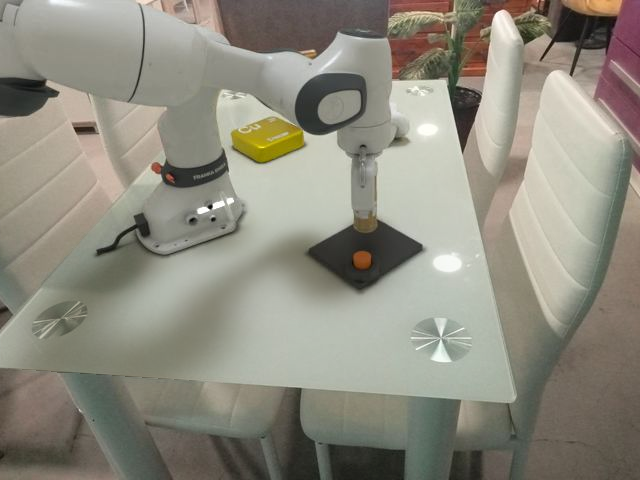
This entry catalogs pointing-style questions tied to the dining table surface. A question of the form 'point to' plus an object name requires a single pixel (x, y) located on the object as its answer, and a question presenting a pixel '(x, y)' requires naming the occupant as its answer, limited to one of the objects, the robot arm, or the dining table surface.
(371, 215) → the sprinkles bottle
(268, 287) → the dining table surface
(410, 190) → the dining table surface
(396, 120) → the white knot sculpture
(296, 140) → the element tile
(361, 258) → the button
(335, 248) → the scale
